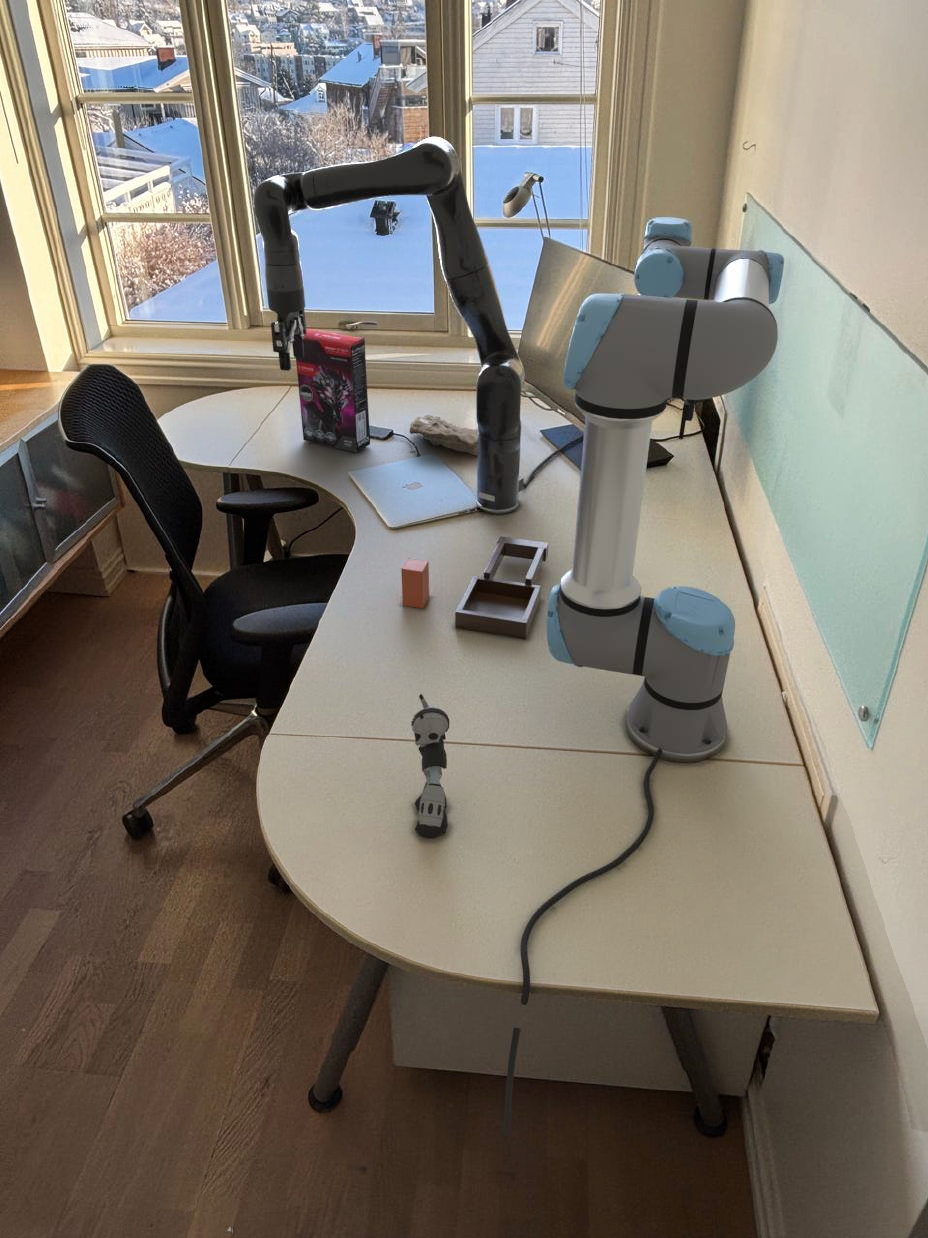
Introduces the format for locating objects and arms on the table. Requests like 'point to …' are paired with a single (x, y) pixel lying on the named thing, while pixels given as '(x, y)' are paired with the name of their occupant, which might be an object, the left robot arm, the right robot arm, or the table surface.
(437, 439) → the stone
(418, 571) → the terracotta block
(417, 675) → the table surface
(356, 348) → the graphics card box
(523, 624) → the walnut tray
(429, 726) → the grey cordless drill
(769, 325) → the right robot arm
